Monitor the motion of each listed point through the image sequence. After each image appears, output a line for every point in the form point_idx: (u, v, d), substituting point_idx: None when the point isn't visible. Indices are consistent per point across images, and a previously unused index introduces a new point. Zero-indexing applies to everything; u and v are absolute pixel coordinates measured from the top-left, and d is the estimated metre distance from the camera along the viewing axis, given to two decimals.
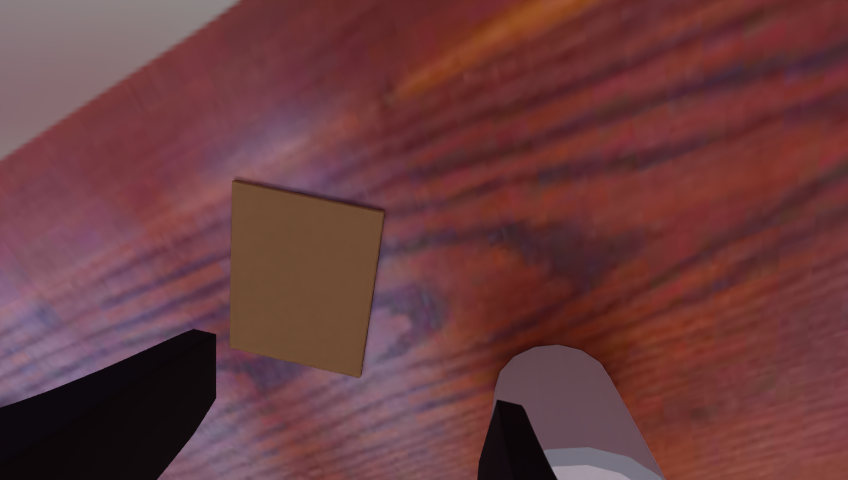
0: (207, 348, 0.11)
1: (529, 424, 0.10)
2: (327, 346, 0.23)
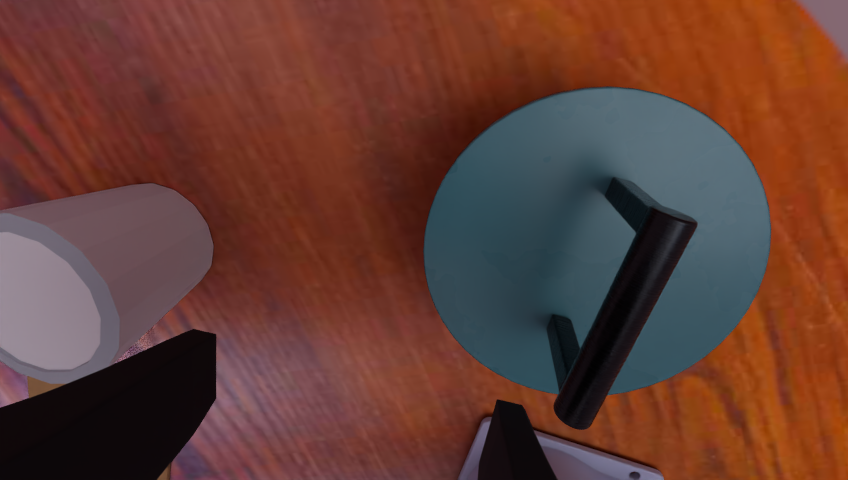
0: (207, 348, 0.11)
1: (529, 424, 0.10)
2: None
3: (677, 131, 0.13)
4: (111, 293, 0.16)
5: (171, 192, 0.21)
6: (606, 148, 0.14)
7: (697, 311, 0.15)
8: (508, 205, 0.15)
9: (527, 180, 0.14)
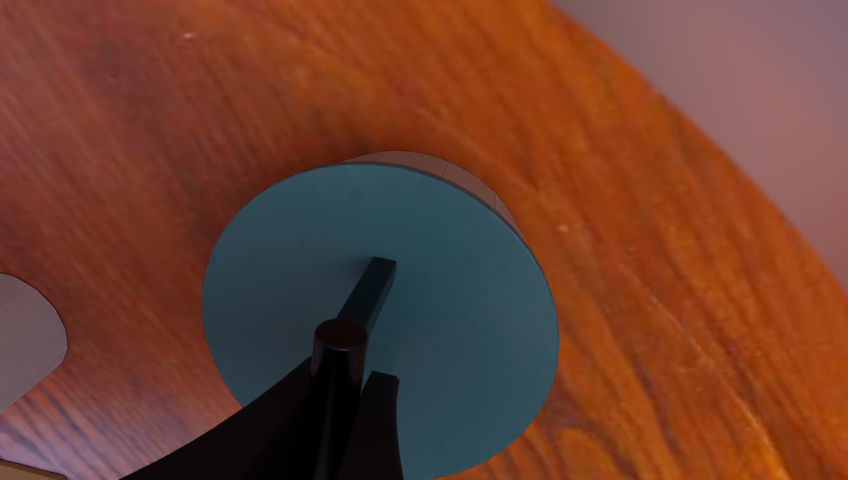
0: None
1: (392, 392, 0.10)
2: None
3: (425, 204, 0.12)
4: None
5: (9, 280, 0.21)
6: (358, 227, 0.12)
7: (499, 389, 0.14)
8: (277, 292, 0.14)
9: (288, 266, 0.13)
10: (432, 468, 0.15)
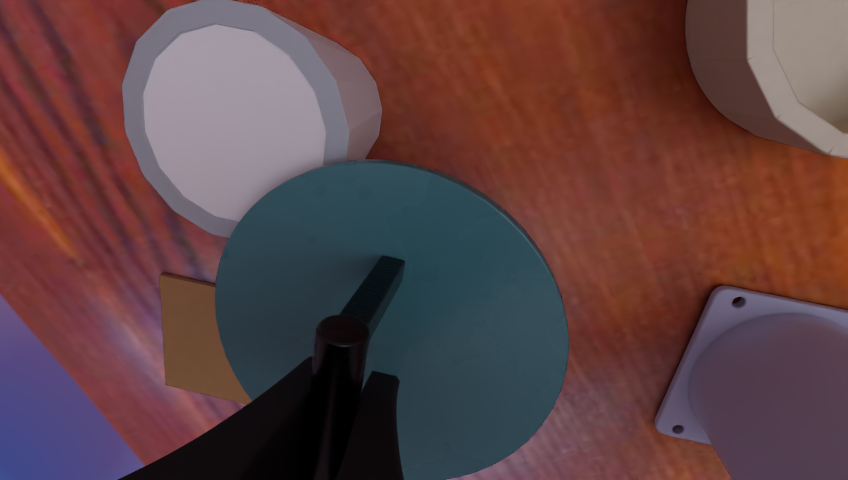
0: None
1: (392, 392, 0.10)
2: None
3: (434, 203, 0.12)
4: (339, 97, 0.13)
5: None
6: (367, 226, 0.12)
7: (507, 392, 0.13)
8: (287, 288, 0.14)
9: (298, 262, 0.13)
10: (438, 470, 0.15)
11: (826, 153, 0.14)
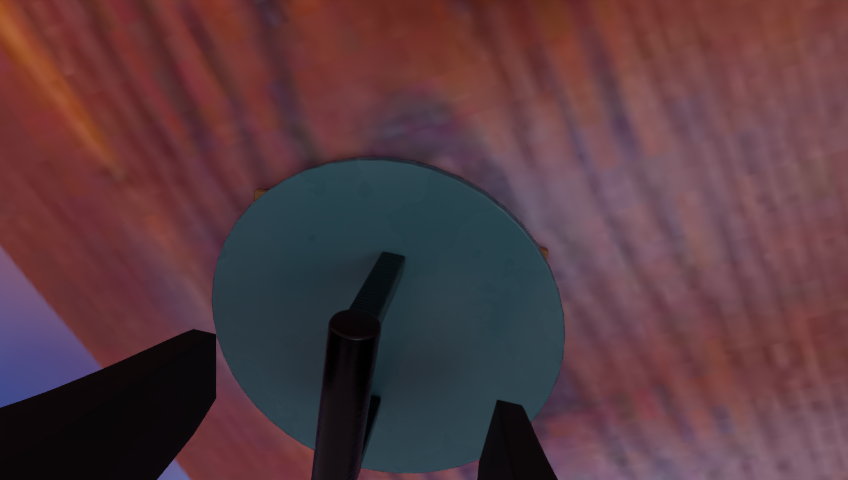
0: (207, 348, 0.11)
1: (529, 424, 0.10)
2: None
3: (434, 199, 0.12)
4: None
5: None
6: (368, 222, 0.13)
7: (506, 382, 0.14)
8: (286, 286, 0.14)
9: (298, 260, 0.13)
10: (439, 460, 0.15)
11: None
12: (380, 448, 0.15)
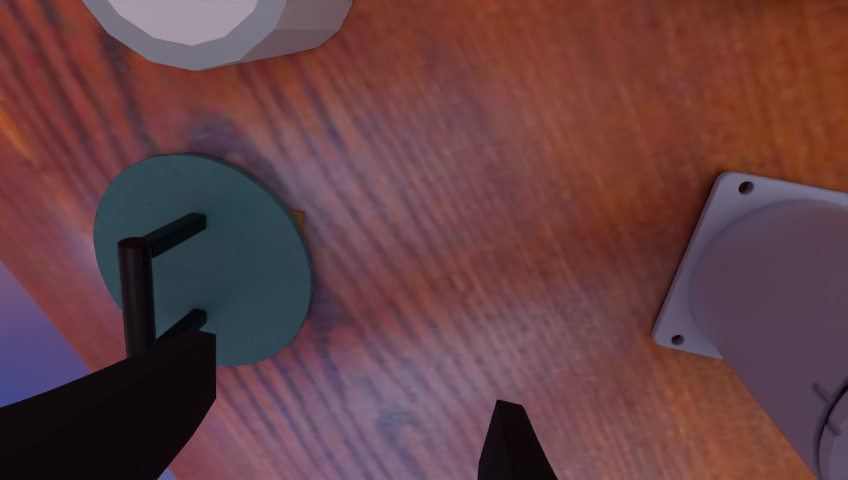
0: (207, 348, 0.11)
1: (529, 424, 0.10)
2: None
3: (217, 179, 0.20)
4: None
5: None
6: (181, 194, 0.20)
7: (280, 298, 0.22)
8: (138, 236, 0.21)
9: (143, 218, 0.21)
10: (250, 356, 0.23)
11: None
12: None
